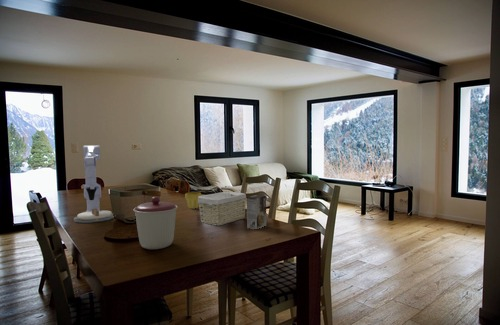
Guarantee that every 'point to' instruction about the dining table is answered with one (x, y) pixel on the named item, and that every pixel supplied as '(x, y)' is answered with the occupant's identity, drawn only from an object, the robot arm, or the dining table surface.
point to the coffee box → (256, 211)
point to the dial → (94, 214)
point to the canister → (155, 223)
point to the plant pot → (192, 200)
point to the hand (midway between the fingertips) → (91, 200)
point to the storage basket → (222, 207)
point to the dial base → (93, 220)
